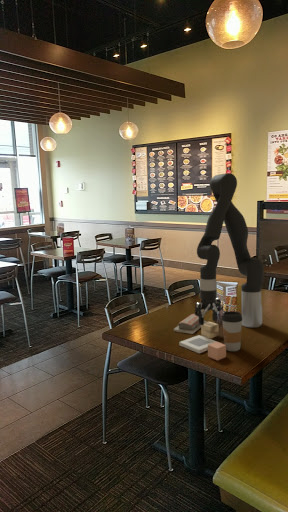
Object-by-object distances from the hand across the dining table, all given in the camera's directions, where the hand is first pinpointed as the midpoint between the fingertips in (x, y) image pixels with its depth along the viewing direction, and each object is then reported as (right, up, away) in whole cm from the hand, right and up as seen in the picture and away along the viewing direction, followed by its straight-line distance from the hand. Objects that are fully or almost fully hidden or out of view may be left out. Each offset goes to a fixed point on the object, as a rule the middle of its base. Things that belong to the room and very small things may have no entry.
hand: (208, 322), depth 173 cm
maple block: (+1, -6, +1) cm, 6 cm away
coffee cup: (+8, -8, -15) cm, 19 cm away
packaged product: (-6, -5, +14) cm, 16 cm away
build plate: (-6, -8, -10) cm, 14 cm away
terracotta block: (0, -10, -22) cm, 24 cm away
